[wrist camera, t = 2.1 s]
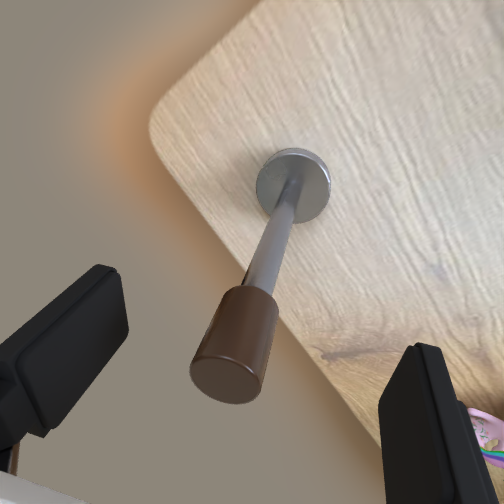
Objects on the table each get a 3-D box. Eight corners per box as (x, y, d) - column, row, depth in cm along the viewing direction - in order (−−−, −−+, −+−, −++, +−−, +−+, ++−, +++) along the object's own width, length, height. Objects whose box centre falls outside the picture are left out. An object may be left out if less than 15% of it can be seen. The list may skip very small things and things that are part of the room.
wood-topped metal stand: (246, 187, 22) (119, 371, 9) (289, 131, 19) (192, 284, 7) (298, 228, 22) (244, 449, 10) (346, 179, 20) (351, 396, 8)
